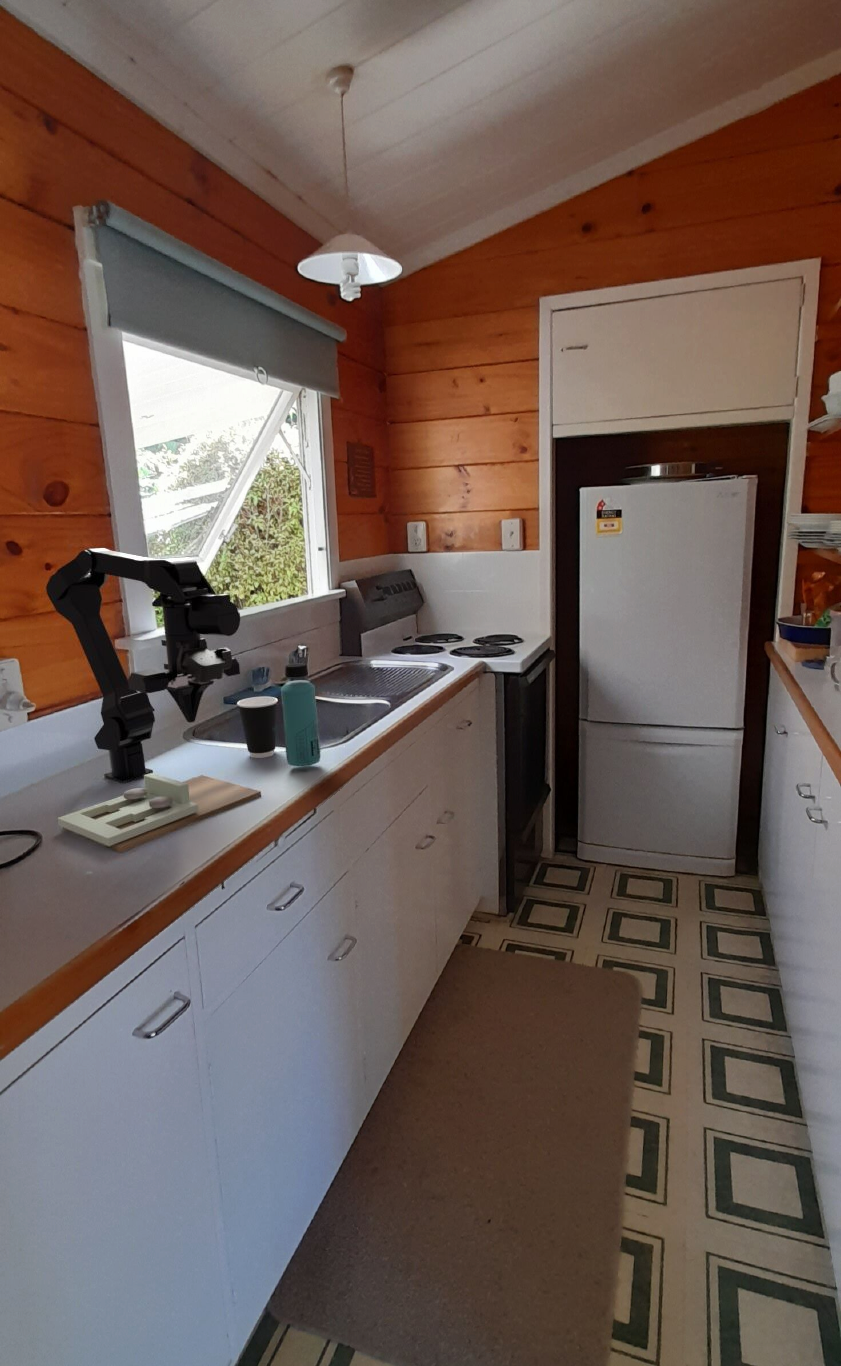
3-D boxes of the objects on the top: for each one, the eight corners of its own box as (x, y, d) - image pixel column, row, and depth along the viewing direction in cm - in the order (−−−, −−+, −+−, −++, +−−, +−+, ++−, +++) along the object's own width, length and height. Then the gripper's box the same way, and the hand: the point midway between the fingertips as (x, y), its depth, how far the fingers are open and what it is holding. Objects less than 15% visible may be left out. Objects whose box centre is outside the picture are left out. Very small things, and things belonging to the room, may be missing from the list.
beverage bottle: (315, 775, 134) (307, 667, 130) (280, 773, 136) (272, 667, 131) (326, 763, 141) (319, 660, 136) (293, 762, 142) (285, 660, 138)
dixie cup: (289, 753, 148) (285, 700, 146) (255, 763, 143) (250, 707, 140) (268, 746, 154) (263, 694, 151) (234, 755, 148) (229, 702, 146)
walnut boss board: (62, 828, 114) (59, 806, 113) (202, 779, 134) (200, 760, 134) (120, 852, 105) (117, 828, 104) (261, 795, 125) (259, 775, 124)
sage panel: (58, 825, 113) (54, 799, 112) (147, 794, 124) (144, 770, 124) (109, 846, 104) (105, 818, 103) (198, 811, 116) (195, 786, 115)
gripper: (159, 645, 113) (169, 743, 117) (256, 629, 127) (263, 717, 131) (121, 639, 120) (132, 731, 123) (217, 625, 134) (224, 708, 138)
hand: (191, 721), depth 129 cm, fingers closed
